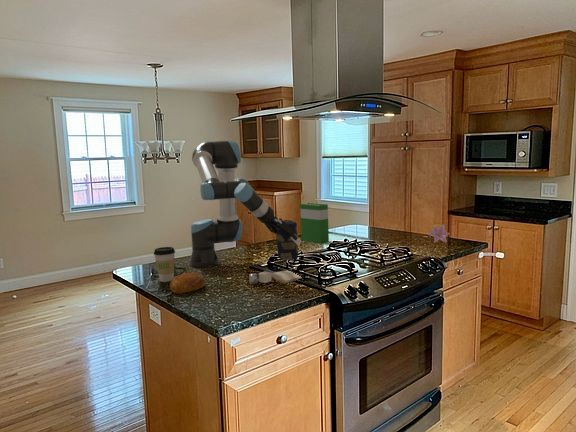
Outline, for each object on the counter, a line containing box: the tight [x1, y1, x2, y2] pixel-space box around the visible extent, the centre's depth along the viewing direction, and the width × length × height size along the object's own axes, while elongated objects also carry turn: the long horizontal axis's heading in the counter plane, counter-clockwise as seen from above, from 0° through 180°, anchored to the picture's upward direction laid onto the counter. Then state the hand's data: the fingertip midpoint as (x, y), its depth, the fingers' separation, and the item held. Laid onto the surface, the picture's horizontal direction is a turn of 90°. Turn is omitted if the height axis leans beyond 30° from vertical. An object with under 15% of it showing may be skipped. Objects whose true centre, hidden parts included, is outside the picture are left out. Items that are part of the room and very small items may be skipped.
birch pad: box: [271, 269, 302, 284], centre depth 208 cm, size 15×15×1 cm
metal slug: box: [248, 273, 259, 285], centre depth 200 cm, size 4×4×4 cm
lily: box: [427, 224, 450, 243], centre depth 274 cm, size 12×12×10 cm
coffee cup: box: [153, 246, 176, 283], centre depth 210 cm, size 10×10×15 cm
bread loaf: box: [169, 272, 206, 295], centre depth 196 cm, size 14×16×8 cm
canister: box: [276, 219, 299, 261], centre depth 205 cm, size 10×10×18 cm
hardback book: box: [299, 202, 330, 245], centre depth 289 cm, size 18×7×24 cm, turn 41°
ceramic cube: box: [258, 271, 273, 284], centre depth 202 cm, size 4×4×4 cm
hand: (292, 241), depth 207 cm, fingers closed on canister, 9 cm apart
